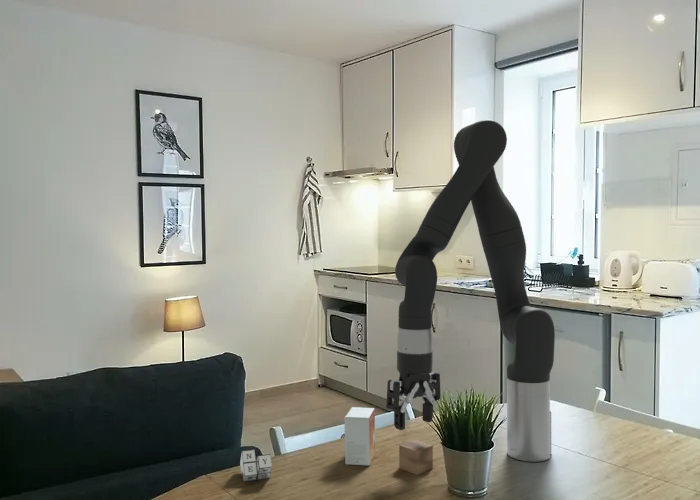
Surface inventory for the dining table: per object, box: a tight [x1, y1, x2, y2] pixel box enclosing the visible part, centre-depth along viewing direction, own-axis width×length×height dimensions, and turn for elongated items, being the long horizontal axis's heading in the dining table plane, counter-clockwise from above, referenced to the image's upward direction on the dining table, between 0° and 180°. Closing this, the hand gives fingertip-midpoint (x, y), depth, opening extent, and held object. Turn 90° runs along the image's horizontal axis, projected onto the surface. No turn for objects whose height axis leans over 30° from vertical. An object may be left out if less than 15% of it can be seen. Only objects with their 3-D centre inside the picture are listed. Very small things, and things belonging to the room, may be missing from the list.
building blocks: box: [239, 448, 273, 482], centre depth 125 cm, size 5×5×8 cm
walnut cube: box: [398, 439, 434, 475], centre depth 129 cm, size 5×5×5 cm
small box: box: [343, 406, 376, 466], centre depth 135 cm, size 8×6×10 cm
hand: (414, 425), depth 129 cm, fingers open, 8 cm apart
